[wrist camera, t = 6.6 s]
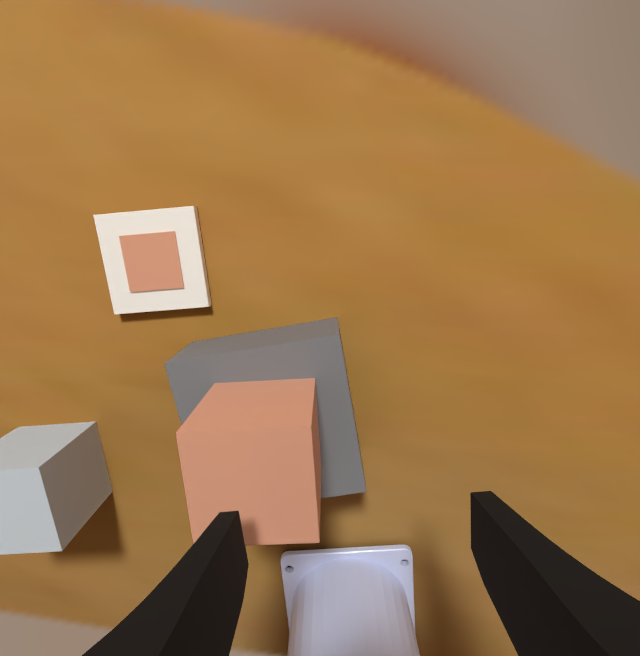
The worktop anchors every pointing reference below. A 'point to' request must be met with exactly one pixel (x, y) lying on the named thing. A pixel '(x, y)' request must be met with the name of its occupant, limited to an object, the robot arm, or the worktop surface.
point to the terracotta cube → (255, 460)
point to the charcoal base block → (280, 364)
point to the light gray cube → (49, 485)
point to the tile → (154, 259)
